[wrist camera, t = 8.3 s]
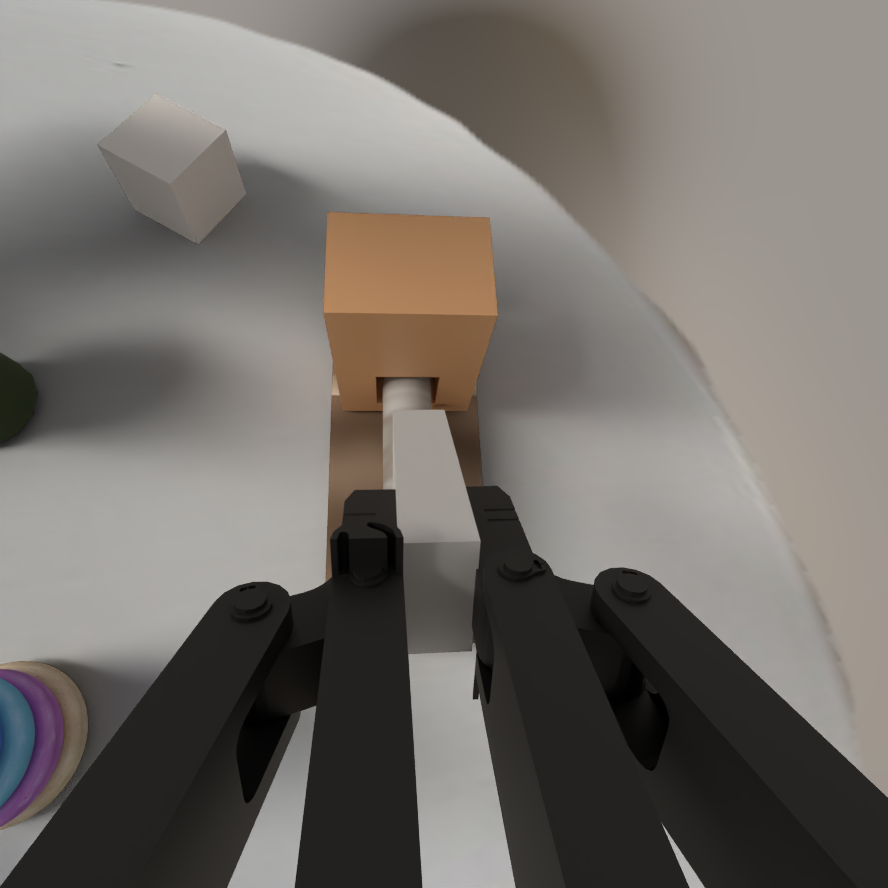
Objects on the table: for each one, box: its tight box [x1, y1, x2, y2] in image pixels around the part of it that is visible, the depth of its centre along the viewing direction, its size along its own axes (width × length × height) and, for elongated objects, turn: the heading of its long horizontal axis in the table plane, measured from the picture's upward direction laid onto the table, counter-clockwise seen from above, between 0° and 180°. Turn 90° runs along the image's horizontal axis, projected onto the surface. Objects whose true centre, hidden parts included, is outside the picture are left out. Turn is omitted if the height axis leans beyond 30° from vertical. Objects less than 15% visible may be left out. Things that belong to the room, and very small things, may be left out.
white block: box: [98, 93, 246, 244], centre depth 41 cm, size 6×6×6 cm
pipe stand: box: [326, 364, 483, 643], centre depth 35 cm, size 26×10×6 cm, turn 2°
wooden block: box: [323, 212, 498, 411], centre depth 33 cm, size 6×8×12 cm
